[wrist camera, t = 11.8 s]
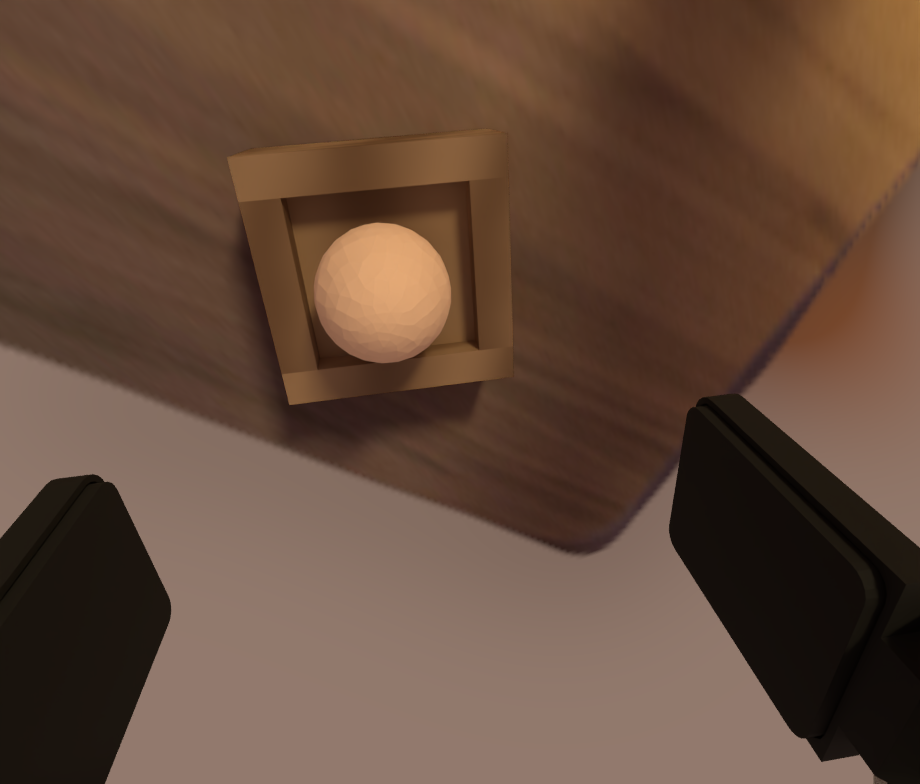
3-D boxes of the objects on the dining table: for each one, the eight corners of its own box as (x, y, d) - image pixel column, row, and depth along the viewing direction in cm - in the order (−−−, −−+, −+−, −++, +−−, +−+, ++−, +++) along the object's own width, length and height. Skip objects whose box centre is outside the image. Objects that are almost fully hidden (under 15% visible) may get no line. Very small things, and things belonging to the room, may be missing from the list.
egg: (404, 186, 21) (413, 213, 16) (463, 294, 24) (488, 347, 19) (295, 251, 22) (270, 296, 17) (363, 350, 24) (360, 416, 19)
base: (486, 128, 24) (507, 133, 20) (495, 341, 28) (513, 376, 25) (250, 148, 23) (226, 157, 19) (300, 364, 28) (289, 405, 24)
